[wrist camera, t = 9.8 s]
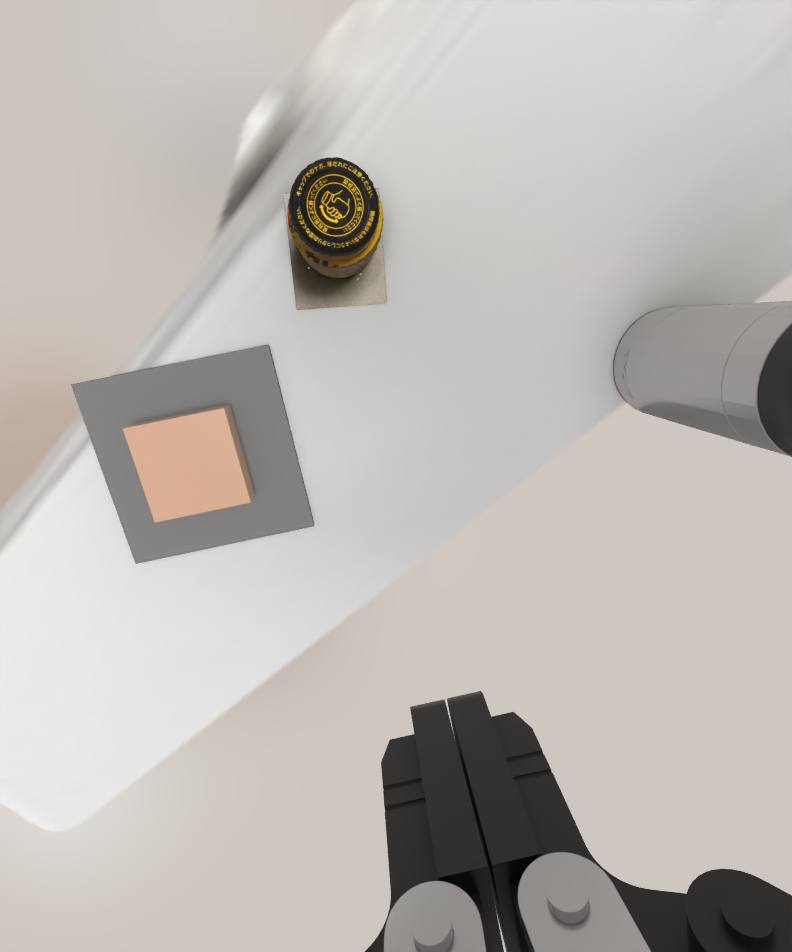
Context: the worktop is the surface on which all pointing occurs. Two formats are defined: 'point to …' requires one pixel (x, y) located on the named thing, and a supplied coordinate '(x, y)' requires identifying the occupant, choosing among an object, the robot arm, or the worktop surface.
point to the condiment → (335, 236)
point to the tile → (190, 463)
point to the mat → (187, 390)
